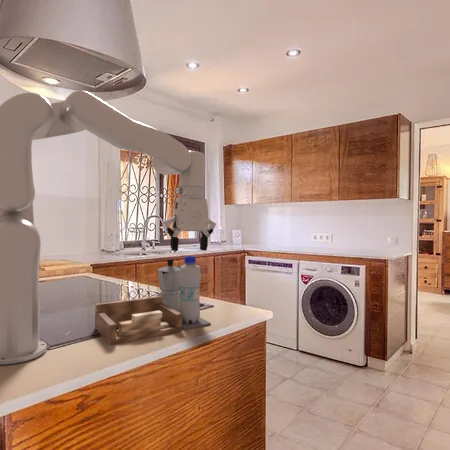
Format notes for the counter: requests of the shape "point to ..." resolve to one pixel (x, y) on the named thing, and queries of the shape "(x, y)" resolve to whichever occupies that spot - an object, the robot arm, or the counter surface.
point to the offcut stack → (142, 323)
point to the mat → (195, 324)
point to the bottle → (189, 290)
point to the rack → (123, 310)
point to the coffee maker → (170, 285)
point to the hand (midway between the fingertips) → (189, 250)
